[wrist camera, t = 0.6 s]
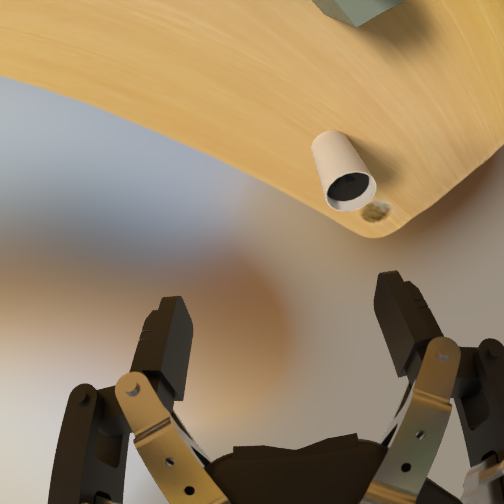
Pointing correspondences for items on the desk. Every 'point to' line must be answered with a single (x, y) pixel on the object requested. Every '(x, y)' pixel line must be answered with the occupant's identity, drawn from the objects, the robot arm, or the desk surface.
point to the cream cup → (342, 172)
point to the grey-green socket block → (355, 9)
